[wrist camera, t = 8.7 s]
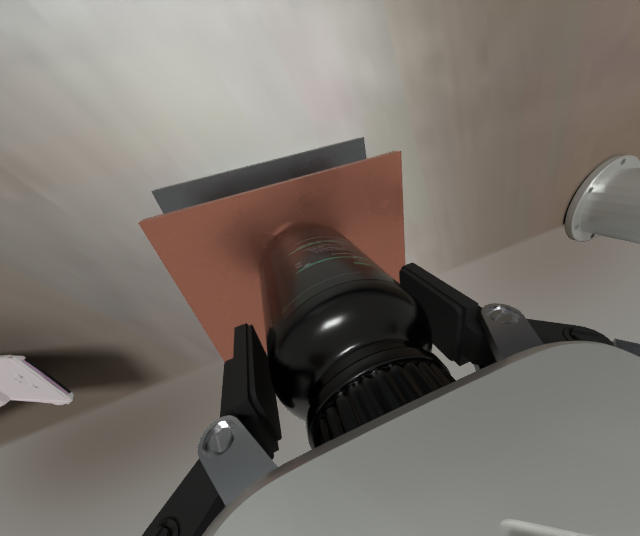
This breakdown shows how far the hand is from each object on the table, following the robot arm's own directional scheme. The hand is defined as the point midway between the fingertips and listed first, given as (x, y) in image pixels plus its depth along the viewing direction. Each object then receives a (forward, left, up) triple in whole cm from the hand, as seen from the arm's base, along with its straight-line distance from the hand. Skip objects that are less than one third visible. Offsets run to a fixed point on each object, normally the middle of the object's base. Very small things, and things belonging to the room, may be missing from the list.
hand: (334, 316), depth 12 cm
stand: (0, 0, -14) cm, 14 cm away
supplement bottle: (0, 0, -6) cm, 6 cm away
